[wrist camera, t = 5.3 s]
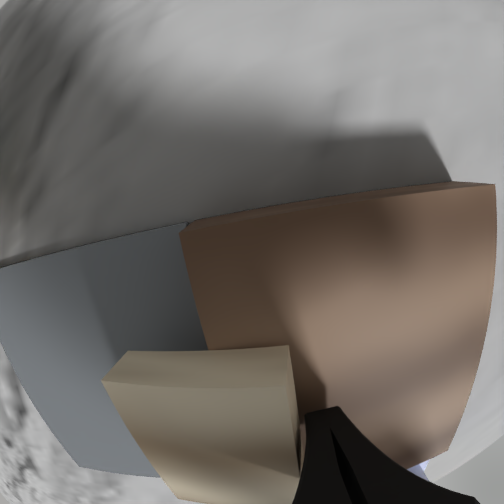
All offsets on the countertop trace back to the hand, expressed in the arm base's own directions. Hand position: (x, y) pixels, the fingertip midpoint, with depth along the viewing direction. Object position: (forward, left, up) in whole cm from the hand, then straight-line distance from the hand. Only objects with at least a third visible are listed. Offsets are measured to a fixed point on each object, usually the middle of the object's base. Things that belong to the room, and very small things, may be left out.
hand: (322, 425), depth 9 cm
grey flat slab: (0, +11, -4) cm, 11 cm away
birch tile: (0, +4, -1) cm, 4 cm away
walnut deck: (0, -3, -4) cm, 4 cm away
